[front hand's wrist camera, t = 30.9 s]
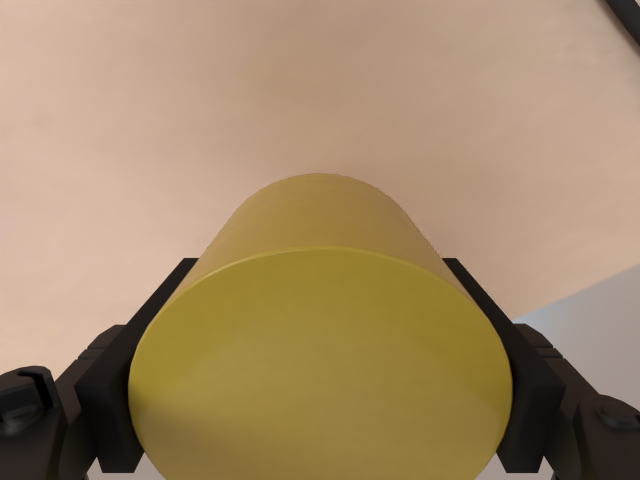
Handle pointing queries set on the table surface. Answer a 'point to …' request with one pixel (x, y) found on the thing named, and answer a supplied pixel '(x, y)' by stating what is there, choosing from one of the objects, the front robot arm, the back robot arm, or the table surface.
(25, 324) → the table surface
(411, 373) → the tin
